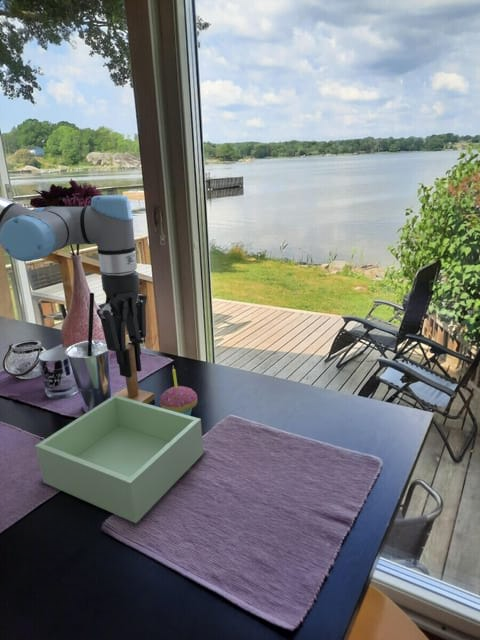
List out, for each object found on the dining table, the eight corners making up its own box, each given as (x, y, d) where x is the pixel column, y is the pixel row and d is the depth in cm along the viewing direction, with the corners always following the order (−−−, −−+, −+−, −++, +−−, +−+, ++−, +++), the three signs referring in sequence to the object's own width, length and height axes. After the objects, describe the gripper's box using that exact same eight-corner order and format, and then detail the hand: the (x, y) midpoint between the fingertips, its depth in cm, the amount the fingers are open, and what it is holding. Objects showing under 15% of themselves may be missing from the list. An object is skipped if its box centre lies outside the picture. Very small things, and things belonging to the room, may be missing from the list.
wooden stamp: (114, 406, 103) (106, 347, 98) (128, 396, 107) (122, 339, 102) (141, 414, 99) (134, 353, 94) (155, 404, 103) (149, 345, 98)
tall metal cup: (111, 421, 99) (92, 293, 89) (65, 418, 101) (41, 293, 91) (130, 397, 109) (115, 280, 99) (88, 395, 111) (68, 279, 101)
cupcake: (156, 413, 102) (151, 366, 98) (190, 403, 105) (187, 358, 101) (168, 431, 95) (163, 382, 91) (204, 420, 98) (201, 372, 94)
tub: (43, 482, 81) (35, 445, 78) (119, 426, 97) (114, 394, 94) (136, 523, 71) (130, 483, 68) (203, 453, 87) (200, 418, 84)
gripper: (105, 282, 84) (119, 391, 92) (157, 265, 97) (165, 362, 105) (77, 278, 87) (93, 384, 95) (130, 262, 100) (140, 356, 108)
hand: (131, 372), depth 100 cm, fingers closed on wooden stamp, 3 cm apart
